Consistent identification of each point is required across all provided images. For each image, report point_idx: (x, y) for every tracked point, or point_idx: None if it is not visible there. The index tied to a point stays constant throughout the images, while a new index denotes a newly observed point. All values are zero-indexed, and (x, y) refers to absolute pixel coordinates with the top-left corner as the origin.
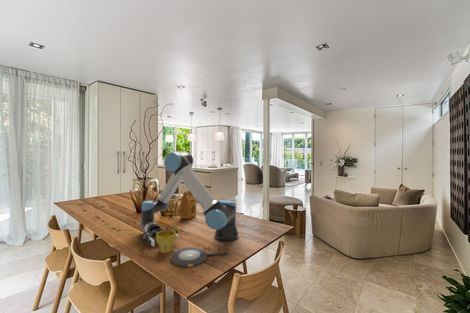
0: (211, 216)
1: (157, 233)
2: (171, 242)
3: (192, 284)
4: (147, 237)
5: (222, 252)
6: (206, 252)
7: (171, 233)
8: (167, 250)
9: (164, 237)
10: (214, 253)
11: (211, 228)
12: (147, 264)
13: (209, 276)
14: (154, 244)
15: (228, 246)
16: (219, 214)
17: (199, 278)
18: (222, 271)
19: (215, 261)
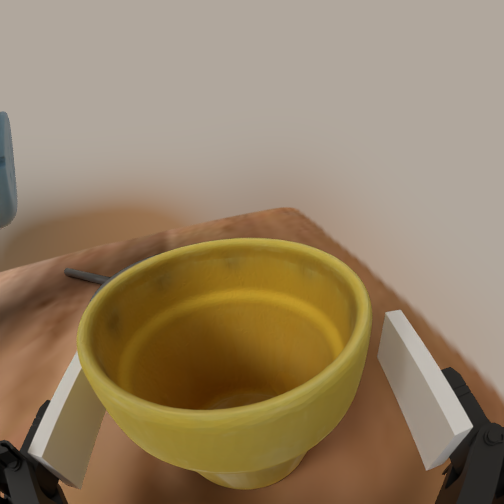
0: (7, 141)
1: (351, 340)
2: (212, 314)
3: (265, 217)
4: (497, 436)
5: (75, 270)
6: (108, 279)
7: (110, 376)
8: (256, 376)
9: (281, 242)
10: (94, 274)
11: (13, 215)
12: (405, 314)
13: (209, 225)
14: (381, 341)
15: (14, 303)
16: (10, 131)
17: (236, 224)
18: (167, 230)
19: (133, 258)
